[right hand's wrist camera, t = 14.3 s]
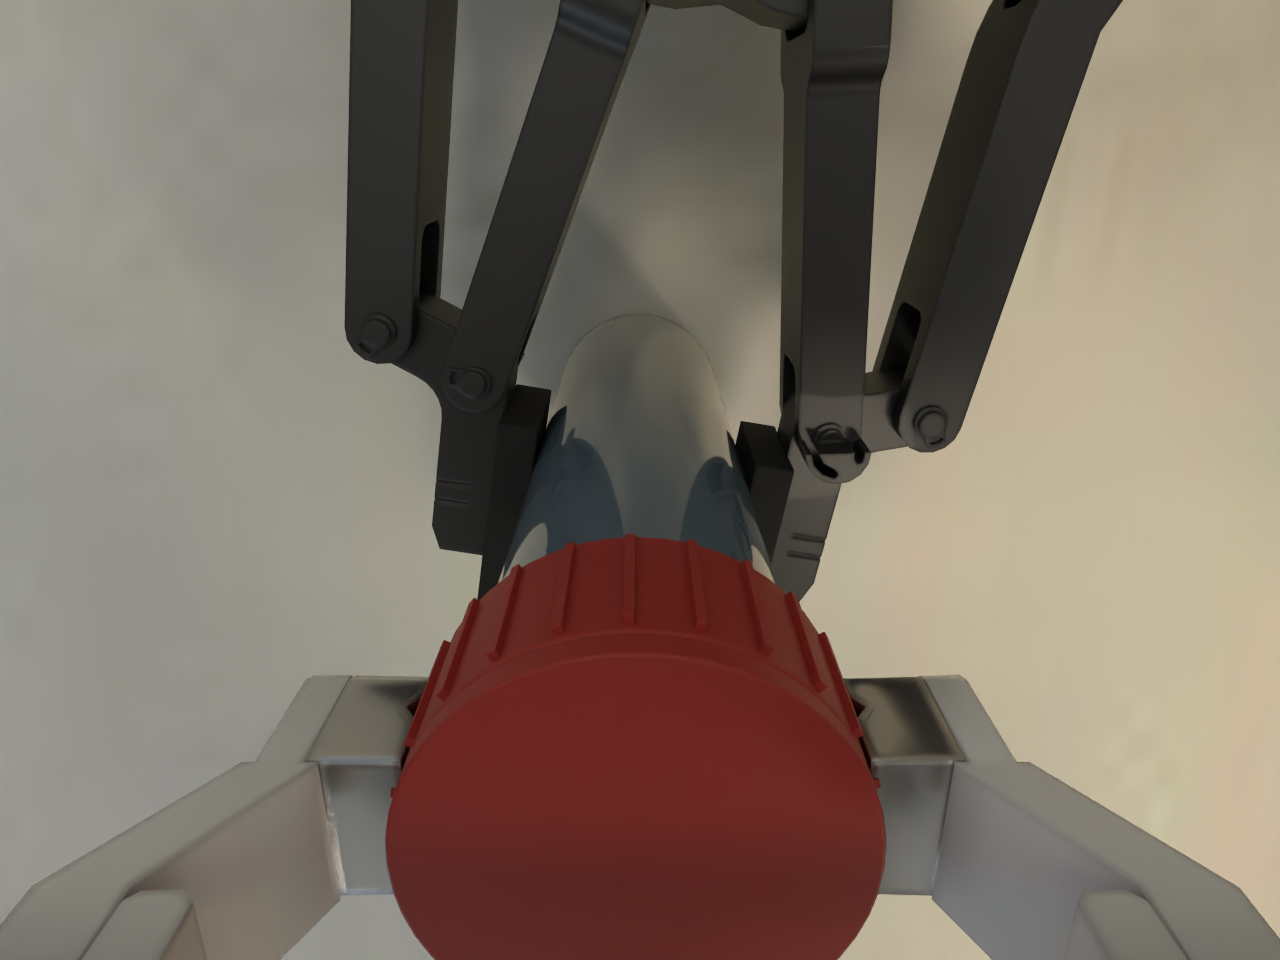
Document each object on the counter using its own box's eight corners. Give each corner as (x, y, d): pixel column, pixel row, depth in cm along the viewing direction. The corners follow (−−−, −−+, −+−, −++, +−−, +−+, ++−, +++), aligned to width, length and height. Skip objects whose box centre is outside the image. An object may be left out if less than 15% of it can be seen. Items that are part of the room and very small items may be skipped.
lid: (669, 924, 12) (676, 1106, 10) (353, 742, 11) (280, 902, 9) (927, 683, 11) (1003, 832, 8) (593, 443, 9) (578, 541, 7)
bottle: (651, 488, 25) (669, 1032, 10) (532, 403, 24) (353, 861, 9) (746, 376, 24) (928, 804, 9) (624, 281, 23) (594, 578, 8)
